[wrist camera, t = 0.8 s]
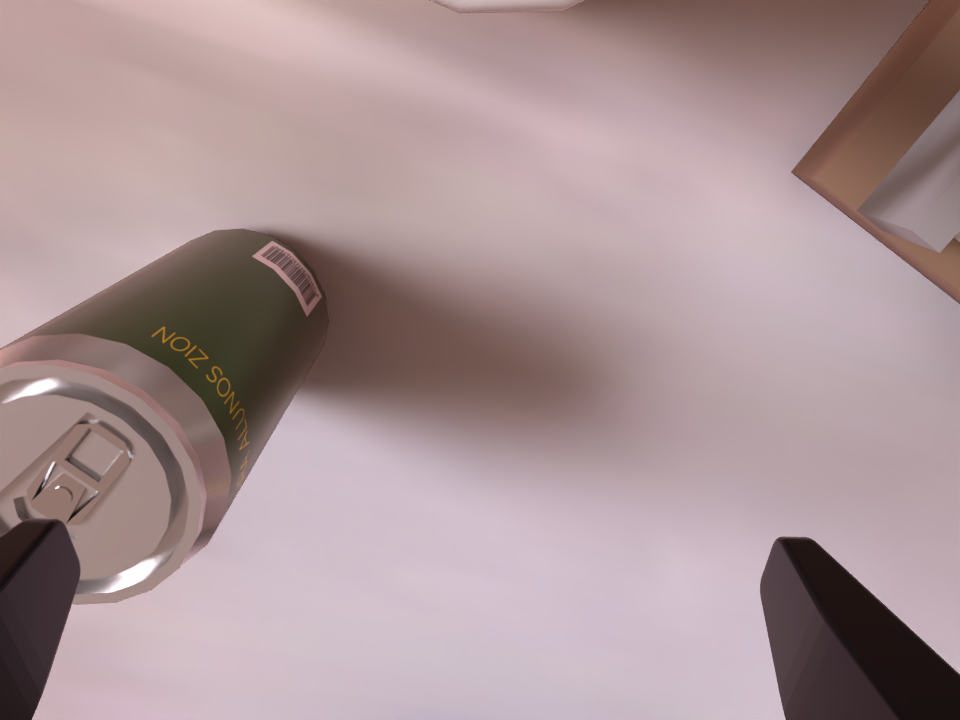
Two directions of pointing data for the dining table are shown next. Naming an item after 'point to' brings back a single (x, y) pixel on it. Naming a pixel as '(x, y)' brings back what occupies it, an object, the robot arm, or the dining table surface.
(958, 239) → the carriage
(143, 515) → the beer can
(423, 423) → the dining table surface
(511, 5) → the coffee cup
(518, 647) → the dining table surface
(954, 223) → the stand
